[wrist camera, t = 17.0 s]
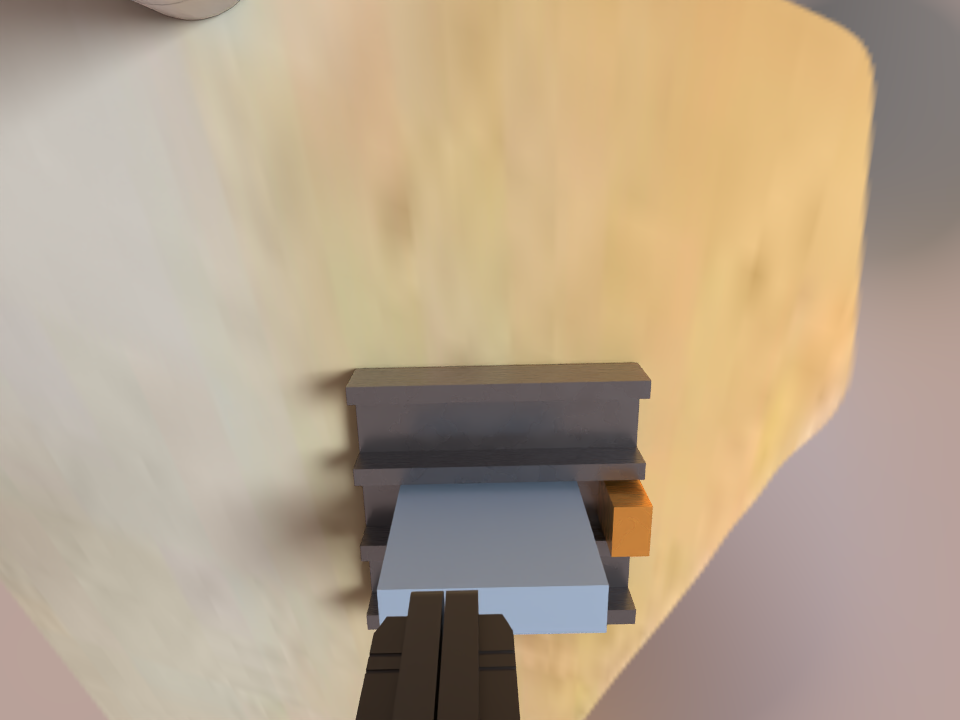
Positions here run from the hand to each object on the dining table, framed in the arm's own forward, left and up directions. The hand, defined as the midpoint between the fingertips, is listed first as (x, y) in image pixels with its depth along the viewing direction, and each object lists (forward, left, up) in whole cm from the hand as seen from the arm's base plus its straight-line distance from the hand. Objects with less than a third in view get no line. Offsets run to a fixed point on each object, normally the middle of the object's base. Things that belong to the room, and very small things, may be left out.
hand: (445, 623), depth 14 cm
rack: (+2, -13, -29) cm, 32 cm away
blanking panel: (+1, -13, -28) cm, 31 cm away
